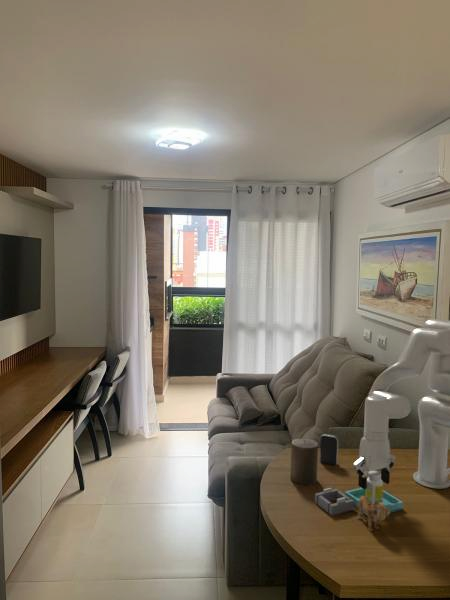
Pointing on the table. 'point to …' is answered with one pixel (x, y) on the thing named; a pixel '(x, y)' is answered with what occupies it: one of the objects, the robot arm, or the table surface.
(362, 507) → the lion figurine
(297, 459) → the pillar candle
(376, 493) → the supplement bottle
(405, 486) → the table surface
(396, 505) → the tray
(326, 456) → the battery charger
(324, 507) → the clip holder
